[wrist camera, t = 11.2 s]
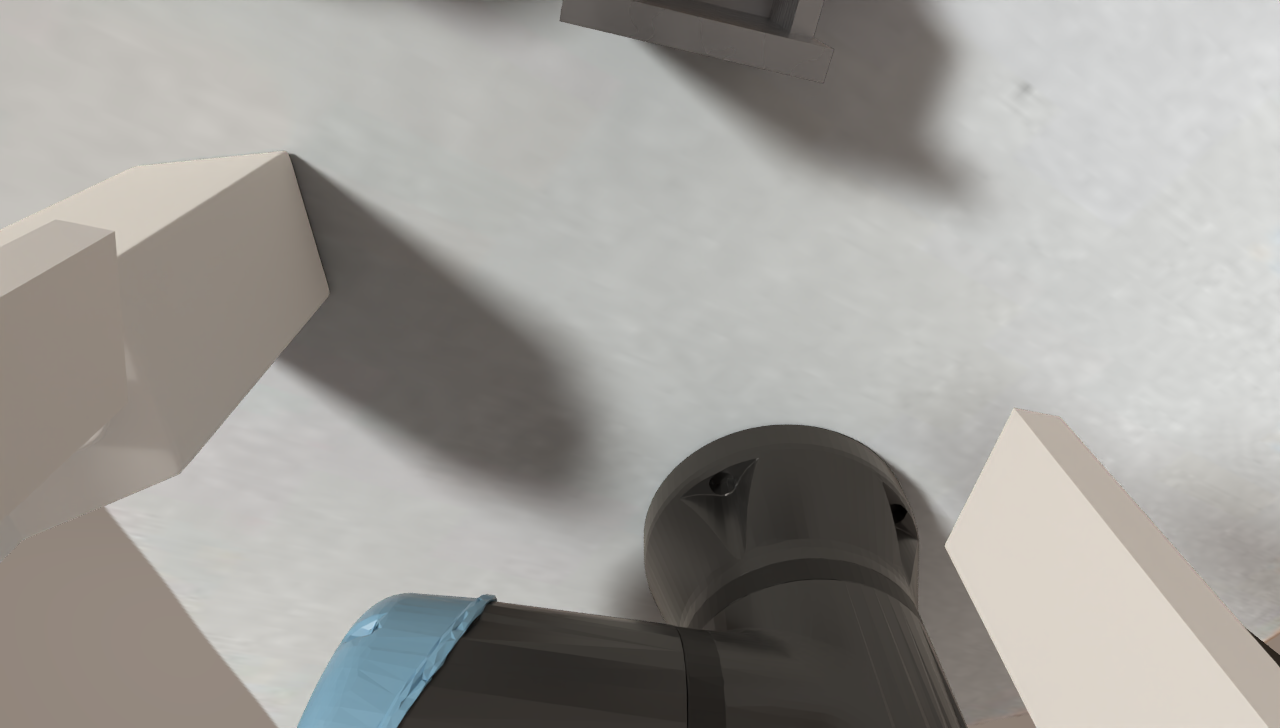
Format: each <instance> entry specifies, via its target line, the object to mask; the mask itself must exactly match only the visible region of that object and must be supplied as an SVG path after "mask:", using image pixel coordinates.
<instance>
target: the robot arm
mask: <svg viewBox="0 0 1280 728" xmlns="http://www.w3.org/2000/svg"><path fill="white" fill-rule="evenodd" d="M127 403H128V390H127V377H126V365H125V352H124V339H123V326H122V314H121V301H120V288H119V276H118V263H117V250H116V237H115V231H112V230H107V229H102V228H97V227H92V226H87V225H82V224H77V223H72V222H67V221H61V220H56V219H55V220H53V221H51V222H49V223H47V224H45V225H43V226H41V227H39V228H37V229H35V230H33V231H31V232H29V233H27V234H25V235H23V236H21V237H19V238H17V239H15V240H13V241H11V242H9V243H7V244H5V245H3V246H1V247H0V522H1V521H2V520H3V519H4V518H5V517H6V516H7V515H9V514H10V513H11V512H12V511H13V510H14V509H15V508H16V507H17V506H18V505H19V504H20V503H21V502H22V501H24V500H25V499H26V498H27V497H28V496H29V495H30V494H31V493H32V492H33V491H34V490H35V489H36V488H37V487H39V486H40V485H41V484H42V483H43V482H44V481H45V480H46V479H47V478H48V477H49V476H50V475H51V474H52V473H54V472H55V471H56V470H57V469H58V468H59V467H60V466H61V465H62V464H63V463H64V462H65V461H66V460H67V459H69V458H70V457H71V456H72V455H73V454H74V453H75V452H76V451H77V450H78V449H79V448H80V447H81V446H82V445H84V444H85V443H86V442H87V441H88V440H89V439H90V438H91V437H92V436H93V435H94V434H95V433H96V432H97V431H99V430H100V429H101V428H102V427H103V426H104V425H105V424H106V423H107V422H108V421H109V420H110V419H111V418H112V417H114V416H115V415H116V414H117V413H118V412H119V411H120V410H121V409H122V408H123V407H124V406H125V405H126V404H127ZM945 548H946V550H947V552H948V554H949V556H950V558H951V560H952V562H953V564H954V566H955V568H956V570H957V572H958V574H959V576H960V578H961V580H962V582H963V584H964V586H965V588H966V590H967V592H968V594H969V596H970V598H971V600H972V602H973V604H974V606H975V608H976V609H977V611H978V613H979V615H980V617H981V619H982V621H983V623H984V625H985V627H986V629H987V631H988V633H989V635H990V637H991V639H992V641H993V643H994V645H995V647H996V649H997V651H998V653H999V655H1000V657H1001V659H1002V661H1003V663H1004V665H1005V667H1006V669H1007V671H1008V673H1009V675H1010V677H1011V679H1012V681H1013V683H1014V685H1015V687H1016V689H1017V691H1018V693H1019V695H1020V697H1021V699H1022V701H1023V703H1024V705H1025V707H1026V709H1027V711H1028V712H1029V714H1030V716H1031V718H1032V720H1033V722H1034V724H1035V726H1036V728H1280V655H1279V654H1278V653H1276V652H1275V651H1274V650H1273V649H1271V648H1270V647H1269V646H1268V645H1266V644H1265V643H1264V642H1263V641H1261V640H1260V639H1259V638H1258V637H1256V636H1255V635H1254V634H1253V633H1251V632H1250V631H1249V630H1247V629H1246V628H1245V627H1244V626H1243V625H1242V624H1241V622H1240V621H1239V620H1238V619H1237V618H1236V617H1235V616H1234V614H1233V613H1232V612H1231V611H1230V610H1229V609H1228V608H1227V606H1226V605H1225V604H1224V603H1223V602H1222V601H1221V600H1220V599H1219V597H1218V596H1217V595H1216V594H1215V593H1214V592H1213V591H1212V589H1211V588H1210V587H1209V586H1208V585H1207V584H1206V583H1205V581H1204V580H1203V579H1202V578H1201V577H1200V576H1199V575H1198V573H1197V572H1196V571H1195V570H1194V569H1193V568H1192V567H1191V565H1190V564H1189V563H1188V562H1187V561H1186V560H1185V559H1184V557H1183V556H1182V555H1181V554H1180V553H1179V552H1178V551H1177V549H1176V548H1175V547H1174V546H1173V545H1172V544H1171V543H1170V542H1169V540H1168V539H1167V538H1166V537H1165V536H1164V535H1163V534H1162V532H1161V531H1160V530H1159V529H1158V528H1157V527H1156V526H1155V524H1154V523H1153V522H1152V521H1151V520H1150V519H1149V518H1148V516H1147V515H1146V514H1145V513H1144V512H1143V511H1142V510H1141V508H1140V507H1139V506H1138V505H1137V504H1136V503H1135V502H1134V500H1133V499H1132V498H1131V497H1130V496H1129V495H1128V494H1127V492H1126V491H1125V490H1124V489H1123V488H1122V487H1121V486H1120V485H1119V483H1118V482H1117V481H1116V480H1115V479H1114V478H1113V477H1112V475H1111V474H1110V473H1109V472H1108V471H1107V470H1106V469H1105V467H1104V466H1103V465H1102V464H1101V463H1100V462H1099V461H1098V459H1097V458H1096V457H1095V456H1094V455H1093V454H1092V453H1091V451H1090V450H1089V449H1088V448H1087V447H1086V446H1085V445H1084V443H1083V442H1082V441H1081V440H1080V439H1079V438H1078V437H1077V435H1076V434H1075V433H1074V432H1073V431H1072V430H1071V429H1070V428H1069V426H1068V425H1067V424H1066V423H1065V422H1064V421H1063V420H1062V418H1061V417H1059V416H1053V415H1048V414H1043V413H1038V412H1033V411H1028V410H1023V409H1018V408H1013V410H1012V412H1011V414H1010V416H1009V418H1008V420H1007V422H1006V424H1005V426H1004V428H1003V430H1002V432H1001V434H1000V436H999V438H998V440H997V442H996V444H995V446H994V448H993V450H992V452H991V454H990V456H989V458H988V460H987V462H986V464H985V466H984V468H983V470H982V472H981V474H980V476H979V478H978V480H977V482H976V484H975V486H974V488H973V490H972V492H971V494H970V496H969V498H968V500H967V502H966V504H965V506H964V508H963V510H962V512H961V514H960V516H959V518H958V520H957V522H956V524H955V526H954V528H953V530H952V532H951V534H950V536H949V538H948V540H947V542H946V544H945ZM644 565H645V573H646V578H647V582H648V586H649V589H650V591H651V594H652V596H653V598H654V600H655V602H656V604H657V606H658V608H659V610H660V612H661V614H662V617H663V619H664V621H665V623H666V624H662V623H654V622H647V621H639V620H631V619H624V618H616V617H609V616H601V615H594V614H586V613H578V612H571V611H563V610H556V609H548V608H541V607H533V606H525V605H518V604H510V603H503V602H497V598H496V596H495V595H488V594H486V595H482V596H480V597H479V598H467V597H454V596H442V595H429V594H417V593H403V594H399V595H394V596H391V597H388V598H386V599H384V600H382V601H380V602H378V603H377V604H375V605H374V606H372V607H371V608H370V609H369V610H368V611H366V612H365V613H364V614H363V615H362V616H361V617H360V618H359V619H358V620H357V622H356V623H355V624H354V625H353V626H352V627H351V629H350V630H349V631H348V633H347V634H346V636H345V637H344V639H343V640H342V642H341V643H340V645H339V647H338V648H337V650H336V651H335V653H334V654H333V656H332V658H331V659H330V661H329V663H328V665H327V667H326V668H325V670H324V672H323V674H322V676H321V678H320V680H319V682H318V683H317V685H316V687H315V689H314V691H313V693H312V696H311V698H310V700H309V702H308V704H307V706H306V708H305V710H304V712H303V715H302V717H301V719H300V721H299V724H298V726H297V728H968V727H967V725H966V723H965V720H964V718H963V716H962V713H961V711H960V709H959V706H958V704H957V702H956V700H955V697H954V695H953V693H952V690H951V688H950V685H949V683H948V681H947V678H946V676H945V674H944V671H943V669H942V667H941V664H940V662H939V660H938V657H937V655H936V652H935V650H934V648H933V645H932V643H931V641H930V638H929V636H928V634H927V632H926V629H925V627H924V625H923V622H922V620H921V617H920V615H919V613H918V566H919V538H918V531H917V526H916V522H915V518H914V515H913V512H912V509H911V507H910V505H909V503H908V501H907V499H906V497H905V494H904V492H903V490H902V488H901V486H900V484H899V482H898V480H897V478H896V477H895V475H894V474H893V472H892V471H891V470H890V468H889V467H888V466H887V465H886V464H885V463H884V461H883V460H881V459H880V458H879V457H878V456H877V455H876V454H875V453H874V452H872V451H871V450H870V449H868V448H867V447H865V446H864V445H862V444H860V443H859V442H857V441H855V440H853V439H851V438H849V437H847V436H844V435H842V434H839V433H836V432H833V431H830V430H826V429H822V428H817V427H811V426H803V425H770V426H762V427H756V428H751V429H747V430H743V431H739V432H736V433H733V434H730V435H727V436H725V437H722V438H720V439H718V440H715V441H713V442H711V443H709V444H707V445H706V446H704V447H702V448H700V449H699V450H697V451H696V452H694V453H693V454H691V455H690V456H689V457H687V458H686V459H685V460H684V461H682V462H681V463H680V464H679V465H678V466H677V467H676V468H675V469H674V470H673V471H672V472H671V473H670V474H669V475H668V476H667V478H666V479H665V480H664V482H663V483H662V484H661V486H660V487H659V489H658V490H657V492H656V494H655V496H654V498H653V500H652V502H651V504H650V507H649V510H648V513H647V516H646V521H645V527H644Z"/></svg>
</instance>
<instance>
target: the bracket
mask: <svg viewBox="0 0 1280 728" xmlns="http://www.w3.org/2000/svg"><path fill="white" fill-rule="evenodd" d="M823 3H824V0H563V3H562V9H561V15H560V21H561V22H565V23H570V24H574V25H578V26H582V27H587V28H591V29H595V30H599V31H604V32H608V33H612V34H616V35H621V36H625V37H629V38H633V39H638V40H642V41H646V42H650V43H655V44H659V45H663V46H667V47H672V48H676V49H680V50H684V51H689V52H693V53H697V54H701V55H706V56H710V57H714V58H718V59H723V60H727V61H731V62H735V63H740V64H744V65H748V66H752V67H757V68H761V69H765V70H769V71H774V72H778V73H782V74H786V75H791V76H795V77H799V78H803V79H807V80H812V81H816V82H820V83H824V80H825V77H826V74H827V70H828V67H829V64H830V61H831V58H832V54H833V51H834V49H833V48H831V47H829V46H827V45H826V44H824V43H822V42H821V41H819V40H817V39H816V38H814V33H815V30H816V27H817V23H818V20H819V17H820V13H821V10H822V6H823Z"/></svg>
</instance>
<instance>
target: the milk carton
mask: <svg viewBox="0 0 1280 728" xmlns="http://www.w3.org/2000/svg"><path fill="white" fill-rule="evenodd" d="M55 219H56V220H61V221H67V222H72V223H77V224H82V225H87V226H92V227H97V228H102V229H107V230H112V231H115V237H116V250H117V263H118V276H119V288H120V301H121V314H122V326H123V339H124V352H125V365H126V377H127V390H128V403H127V404H126V405H125V406H124V407H123V408H122V409H121V410H120V411H119V412H118V413H117V414H116V415H115V416H114V417H112V418H111V419H110V420H109V421H108V422H107V423H106V424H105V425H104V426H103V427H102V428H101V429H100V430H99V431H97V432H96V433H95V434H94V435H93V436H92V437H91V438H90V439H89V440H88V441H87V442H86V443H85V444H84V445H82V446H81V447H80V448H79V449H78V450H77V451H76V452H75V453H74V454H73V455H72V456H71V457H70V458H69V459H67V460H66V461H65V462H64V463H63V464H62V465H61V466H60V467H59V468H58V469H57V470H56V471H55V472H54V473H52V474H51V475H50V476H49V477H48V478H47V479H46V480H45V481H44V482H43V483H42V484H41V485H40V486H39V487H37V488H36V489H35V490H34V491H33V492H32V493H31V494H30V495H29V496H28V497H27V498H26V499H25V500H24V501H22V502H21V503H20V504H19V505H18V506H17V507H16V508H15V509H14V510H13V511H12V512H11V513H10V514H9V515H7V516H6V517H5V518H4V519H3V520H2V521H1V522H0V562H1V561H2V560H3V559H4V558H5V557H6V556H7V555H8V554H9V553H10V552H11V551H12V550H13V549H14V548H15V547H16V546H17V545H18V544H19V543H20V542H21V541H22V540H25V539H27V538H30V537H32V536H34V535H37V534H39V533H41V532H44V531H46V530H48V529H51V528H53V527H56V526H58V525H60V524H63V523H65V522H68V521H70V520H72V519H74V518H77V517H79V516H82V515H84V514H86V513H89V512H91V511H94V510H96V509H98V508H101V507H103V506H105V505H108V504H110V503H112V502H115V501H117V500H120V499H122V498H124V497H127V496H129V495H131V494H134V493H136V492H139V491H141V490H143V489H146V488H148V487H150V486H153V485H155V484H157V483H160V482H162V481H165V480H167V479H169V478H172V477H174V476H176V475H178V474H180V473H181V472H182V470H183V469H184V468H185V467H186V466H187V465H188V464H189V463H190V462H191V461H192V459H193V458H194V457H195V456H196V455H197V453H198V452H199V451H200V450H201V449H202V447H203V446H204V445H205V444H206V443H207V441H208V440H209V439H210V438H211V437H212V436H213V434H214V433H215V432H216V431H217V430H218V428H219V427H220V426H221V425H222V424H223V422H224V421H225V420H226V419H227V418H228V416H229V415H230V414H231V413H232V412H233V410H234V409H235V408H236V407H237V406H238V404H239V403H240V402H241V401H242V400H243V398H244V397H245V396H246V395H247V394H248V392H249V391H250V390H251V389H252V388H253V386H254V385H255V384H256V383H257V382H258V380H259V379H260V378H261V377H262V376H263V374H264V373H265V372H266V371H267V370H268V368H269V367H270V366H271V365H272V364H273V362H274V361H275V360H276V359H277V358H278V356H279V355H280V354H281V353H282V352H283V350H284V349H285V348H286V347H287V346H288V344H289V343H290V342H291V341H292V340H293V338H294V337H295V336H296V335H297V334H298V332H299V331H300V330H301V329H302V328H303V326H304V325H305V324H306V323H307V322H308V320H309V319H310V318H311V317H312V316H313V314H314V313H315V312H316V311H317V310H318V308H319V307H320V306H321V305H322V304H323V302H324V301H325V300H326V299H327V298H328V296H329V288H328V284H327V281H326V277H325V274H324V270H323V267H322V264H321V260H320V257H319V254H318V250H317V247H316V243H315V240H314V237H313V233H312V230H311V227H310V223H309V220H308V217H307V213H306V210H305V206H304V203H303V200H302V196H301V193H300V190H299V186H298V183H297V180H296V176H295V173H294V170H293V166H292V163H291V160H290V157H289V155H288V153H287V152H286V151H278V152H268V153H258V154H249V155H239V156H229V157H219V158H210V159H200V160H190V161H181V162H171V163H161V164H152V165H142V166H135V167H132V168H130V169H128V170H126V171H123V172H121V173H119V174H117V175H115V176H113V177H111V178H109V179H106V180H104V181H102V182H100V183H98V184H96V185H94V186H92V187H90V188H87V189H85V190H83V191H81V192H79V193H77V194H75V195H73V196H70V197H68V198H66V199H64V200H62V201H60V202H58V203H56V204H54V205H51V206H49V207H47V208H45V209H43V210H41V211H39V212H37V213H34V214H32V215H30V216H28V217H26V218H24V219H22V220H20V221H18V222H15V223H13V224H11V225H9V226H7V227H5V228H3V229H1V230H0V247H1V246H3V245H5V244H7V243H9V242H11V241H13V240H15V239H17V238H19V237H21V236H23V235H25V234H27V233H29V232H31V231H33V230H35V229H37V228H39V227H41V226H43V225H45V224H47V223H49V222H51V221H53V220H55Z"/></svg>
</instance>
